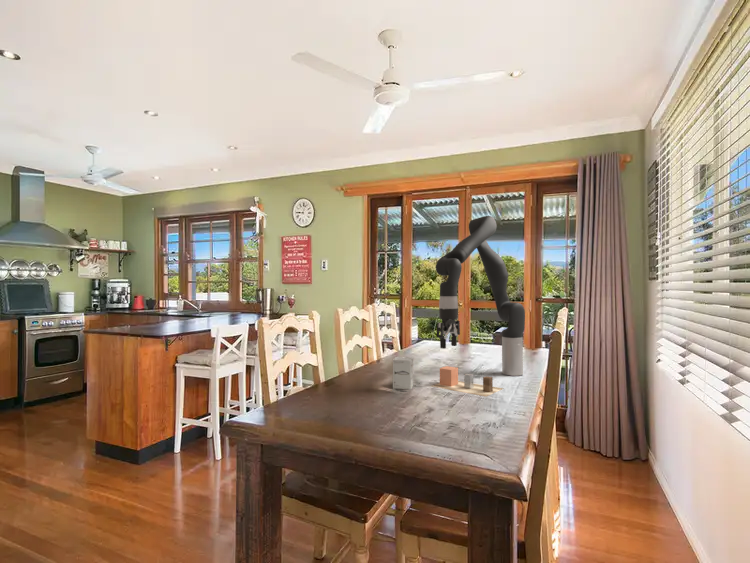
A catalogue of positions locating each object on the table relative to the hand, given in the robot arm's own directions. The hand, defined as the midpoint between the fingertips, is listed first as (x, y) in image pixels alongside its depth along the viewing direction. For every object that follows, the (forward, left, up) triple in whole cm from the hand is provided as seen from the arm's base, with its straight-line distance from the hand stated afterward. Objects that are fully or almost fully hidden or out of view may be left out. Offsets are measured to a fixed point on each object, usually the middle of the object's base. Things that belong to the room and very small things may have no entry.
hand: (448, 347), depth 169 cm
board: (0, +8, -16) cm, 18 cm away
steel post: (0, +9, -15) cm, 18 cm away
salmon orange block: (0, 0, -15) cm, 15 cm away
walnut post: (0, +17, -15) cm, 23 cm away
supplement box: (+15, -12, -17) cm, 25 cm away
